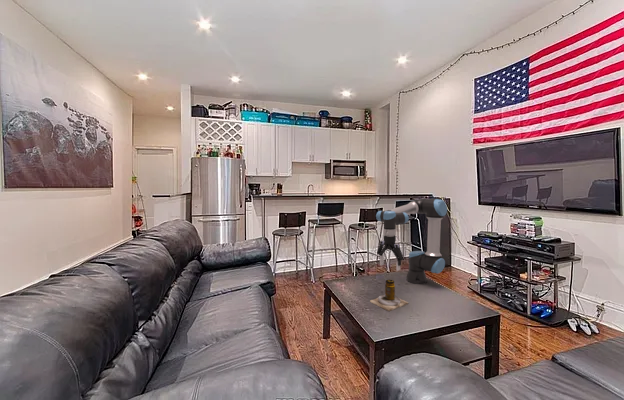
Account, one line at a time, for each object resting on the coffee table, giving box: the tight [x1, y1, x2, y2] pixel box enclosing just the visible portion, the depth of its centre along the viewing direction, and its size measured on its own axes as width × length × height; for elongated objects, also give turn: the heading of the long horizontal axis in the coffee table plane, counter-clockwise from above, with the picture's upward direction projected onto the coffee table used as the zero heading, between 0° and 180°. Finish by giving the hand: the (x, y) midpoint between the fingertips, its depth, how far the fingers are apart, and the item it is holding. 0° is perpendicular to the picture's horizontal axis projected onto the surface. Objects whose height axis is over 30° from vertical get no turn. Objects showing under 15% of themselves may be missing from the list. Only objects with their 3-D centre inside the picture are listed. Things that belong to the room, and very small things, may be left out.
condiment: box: [381, 279, 397, 302], centre depth 182 cm, size 7×8×12 cm
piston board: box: [369, 294, 409, 312], centre depth 183 cm, size 18×16×3 cm
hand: (389, 267), depth 182 cm, fingers open, 13 cm apart
